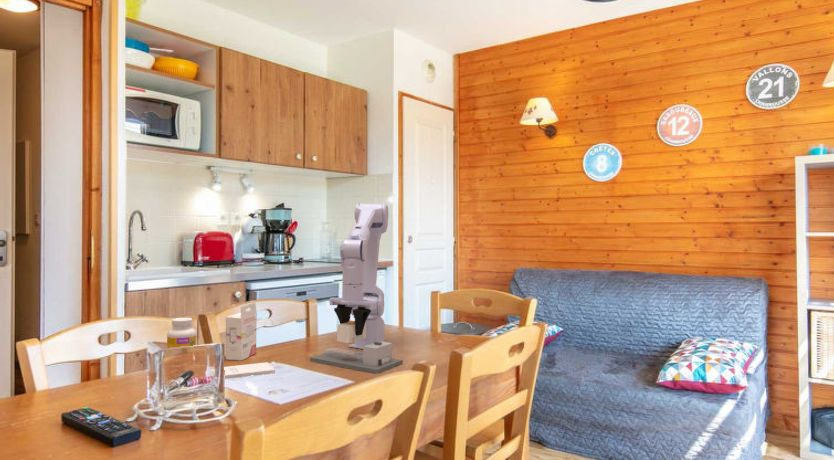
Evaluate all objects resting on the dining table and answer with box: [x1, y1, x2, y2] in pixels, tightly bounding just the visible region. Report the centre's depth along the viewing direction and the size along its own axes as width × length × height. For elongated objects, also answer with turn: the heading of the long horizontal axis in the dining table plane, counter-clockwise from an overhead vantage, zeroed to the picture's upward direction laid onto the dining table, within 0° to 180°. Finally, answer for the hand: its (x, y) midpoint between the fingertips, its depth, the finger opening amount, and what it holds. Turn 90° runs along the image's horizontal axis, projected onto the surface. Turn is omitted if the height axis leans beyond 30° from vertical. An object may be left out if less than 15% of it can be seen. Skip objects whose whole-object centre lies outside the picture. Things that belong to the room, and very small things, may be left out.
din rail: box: [324, 347, 389, 365], centre depth 146 cm, size 4×19×2 cm, turn 59°
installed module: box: [362, 341, 393, 367], centre depth 143 cm, size 8×4×5 cm, turn 149°
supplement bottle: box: [166, 317, 197, 348], centre depth 136 cm, size 7×7×13 cm
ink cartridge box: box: [225, 302, 258, 361], centre depth 150 cm, size 9×5×15 cm, turn 168°
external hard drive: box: [223, 361, 276, 380], centre depth 135 cm, size 2×8×12 cm
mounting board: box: [309, 352, 404, 375], centre depth 146 cm, size 12×22×1 cm, turn 59°
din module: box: [336, 320, 366, 344], centre depth 147 cm, size 8×4×5 cm, turn 149°
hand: (352, 333), depth 147 cm, fingers closed on din module, 4 cm apart
